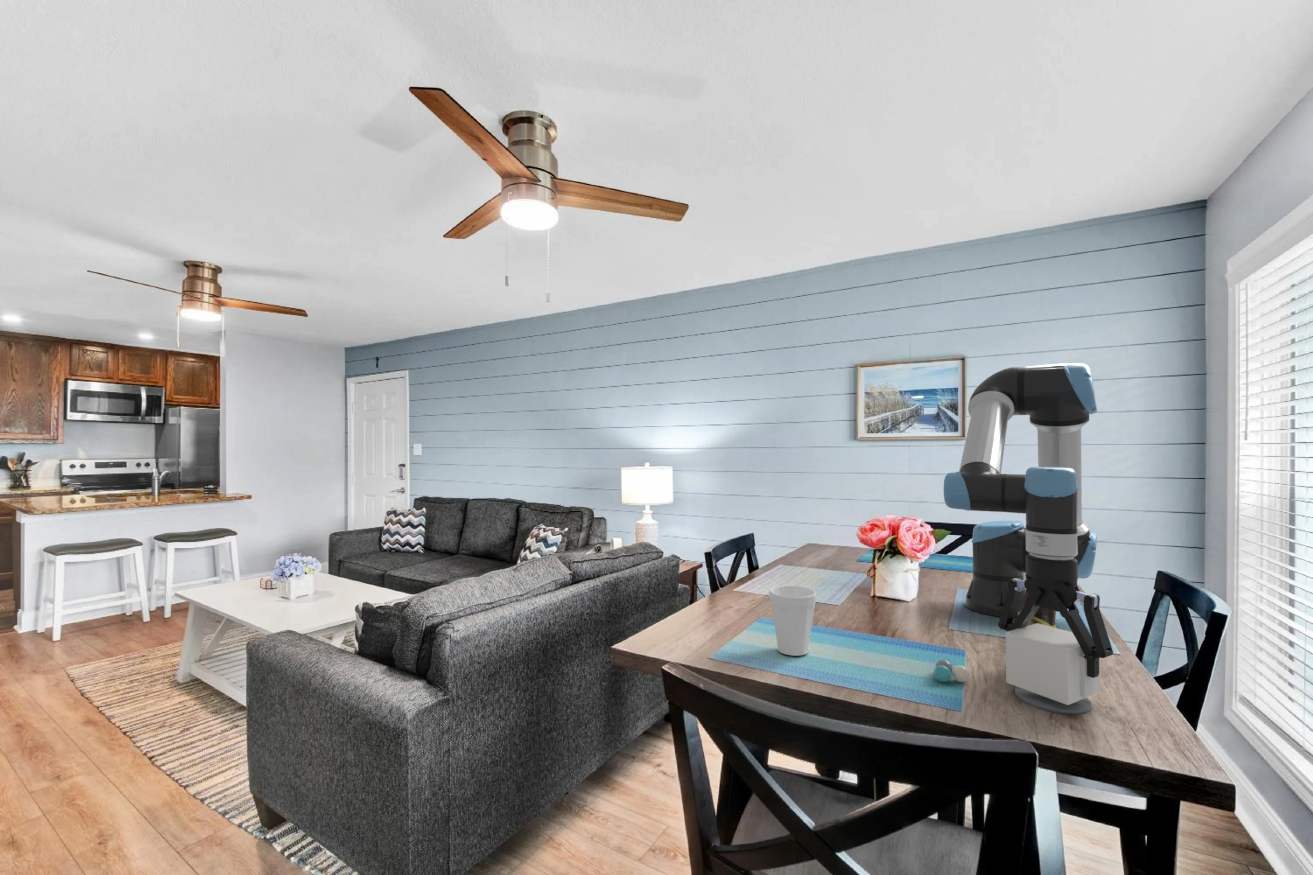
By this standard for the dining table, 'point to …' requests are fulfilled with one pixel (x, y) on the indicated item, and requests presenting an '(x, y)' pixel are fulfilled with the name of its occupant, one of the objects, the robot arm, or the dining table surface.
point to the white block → (1046, 662)
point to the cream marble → (960, 673)
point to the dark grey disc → (1053, 703)
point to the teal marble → (942, 673)
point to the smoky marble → (945, 664)
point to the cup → (792, 617)
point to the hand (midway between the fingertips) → (1052, 682)
